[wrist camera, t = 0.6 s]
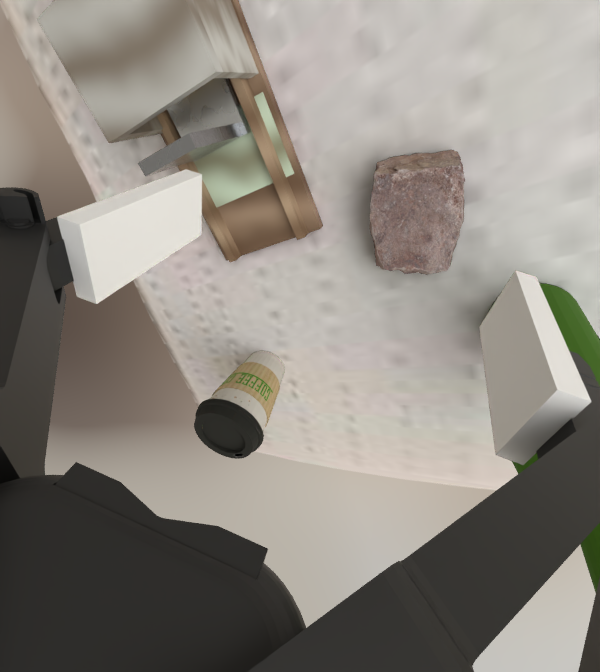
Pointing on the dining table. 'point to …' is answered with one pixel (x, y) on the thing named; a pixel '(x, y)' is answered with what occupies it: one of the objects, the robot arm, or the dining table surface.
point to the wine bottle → (596, 355)
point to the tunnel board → (175, 84)
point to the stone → (417, 211)
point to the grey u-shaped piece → (200, 126)
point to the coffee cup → (241, 407)
